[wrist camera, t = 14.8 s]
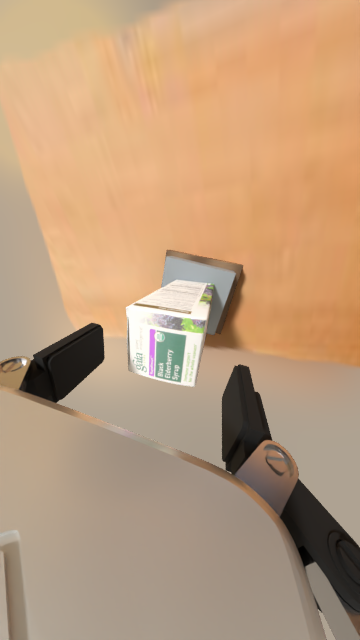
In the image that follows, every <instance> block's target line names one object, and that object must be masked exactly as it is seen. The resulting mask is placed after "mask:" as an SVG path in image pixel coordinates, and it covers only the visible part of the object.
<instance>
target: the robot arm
mask: <svg viewBox="0 0 360 640" xmlns="http://www.w3.org/2000/svg"><path fill="white" fill-rule="evenodd" d="M33 357H34V359H33V360H30V358H28V357H25V356H18V357H12V358H8V359H5V360H3V361H1V362H0V640H327V639H326V636H325V632H324V629H323V626H322V622H321V619H320V616H319V612H318V609H319V610H320V611H321V612H322V613H323V615H324V617H325V619H326V621H327V623H328V624H329V627H330V629H331V631H332V633H333V635H334V637H335V639H336V640H360V547H359V546H358V545H357V544H356V542H355V541H354V540H353V539H352V538H351V537H350V536H349V535H348V533H347V532H346V531H345V530H344V529H343V528H342V527H341V526H340V525H339V523H338V522H337V521H336V520H335V519H334V518H333V517H332V516H331V515H330V513H328V511H327V510H326V509H325V508H324V507H323V506H322V504H321V503H320V502H319V501H318V500H317V499H316V498H315V497H314V496H313V494H312V493H311V492H310V491H309V490H308V489H307V488H306V487H305V486H304V484H303V483H301V481H300V480H299V479H298V476H299V473H298V468H297V466H296V463H295V461H294V459H293V458H292V456H291V455H290V454H289V453H288V451H287V450H286V449H285V448H284V447H282V446H281V445H280V444H278V443H276V442H274V441H272V438H271V434H270V431H269V427H268V423H267V419H266V416H265V412H264V408H263V404H262V400H261V397H260V394H259V393H258V392H255V391H254V387H253V383H252V378H251V374H250V370H249V367H247V366H243V365H238V366H235V367H234V369H233V372H232V374H231V377H230V379H229V381H228V384H227V386H226V389H225V391H224V394H223V397H222V460H223V461H224V462H226V470H227V471H229V472H232V474H230V473H229V472H227V471H225V470H223V469H221V468H219V467H217V466H215V465H213V464H211V463H209V462H206V461H204V460H202V459H199V458H197V457H194V456H192V455H189V454H187V453H184V452H182V451H179V450H177V449H175V448H172V447H169V446H167V445H164V444H162V443H159V442H156V441H154V440H151V439H149V438H146V437H144V436H141V435H139V434H136V433H133V432H131V431H128V430H125V429H123V428H120V427H118V426H115V425H112V424H110V423H107V422H104V421H102V420H99V419H97V418H94V417H91V416H88V415H86V414H83V413H81V412H78V411H76V410H73V409H70V408H67V407H65V406H62V405H59V404H57V402H58V401H59V400H61V399H63V398H64V397H65V396H66V395H68V393H70V392H71V391H72V390H73V389H74V388H75V387H76V386H77V385H78V384H79V383H80V382H82V381H83V380H84V378H86V377H87V376H88V375H89V374H90V373H91V372H92V371H93V370H94V369H96V368H97V367H98V366H99V365H100V364H101V363H102V362H103V360H104V339H103V328H102V327H101V325H99V324H95V323H90V324H89V325H87V326H85V327H83V328H81V329H80V330H78V331H76V332H74V333H72V334H70V335H69V336H67V337H65V338H63V339H61V340H60V341H58V342H56V343H54V344H52V345H50V346H49V347H47V348H45V349H43V350H41V351H40V352H38V353H36V354H34V355H33Z"/></svg>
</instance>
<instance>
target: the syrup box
mask: <svg viewBox="0 0 360 640" xmlns="http://www.w3.org/2000/svg"><path fill="white" fill-rule="evenodd" d="M213 290H214V284H211V283H202V282H193V281H185V280H175V281H173V282H171V283H169V284H168V285H166V286H164V287H162V288H160V289H159V290H157V291H155V292H153V293H151V294H150V295H148V296H146V297H144V298H142V299H140V300H139V301H137V302H135V303H133V304H131V305H129V306H128V307H126V314H127V351H128V369H129V371H131V372H133V373H137V374H140V375H142V376H145V377H149V378H153V379H156V380H160V381H164V382H168V383H173V384H178V385H186V386H192V387H194V386H195V385H196V380H197V375H198V370H199V365H200V361H201V356H202V352H203V347H204V343H205V338H206V334H207V329H208V324H209V318H210V311H211V303H212V297H213Z"/></svg>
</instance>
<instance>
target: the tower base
mask: <svg viewBox="0 0 360 640" xmlns="http://www.w3.org/2000/svg"><path fill="white" fill-rule="evenodd" d="M167 256H174V257H178V258H182V259H186V260H190V261H194V262H198V263H202V264H207V265H211V266H215V267H219V268H223V269H227V270H231V271H234V272H235V273H236V275H235V277H234V280H233V283H232V286H231V289H230V292H229V294H228V297H227V300H226V303H225V306H224V308H223V311H222V314H221V317H220V320H219V323H218V325H217V328H216V331H215V333H218V334H221V331H222V328H223V325H224V322H225V319H226V316H227V313H228V310H229V307H230V304H231V301H232V298H233V295H234V292H235V289H236V286H237V283H238V280H239V277H240V274H241V271H242V268H243V265H241V264H237V263H232V262H227V261H222V260H217V259H212V258H207V257H202V256H197V255H192V254H187V253H182V252H177V251H173V250H167V252H166V257H167ZM165 261H166V260H165Z"/></svg>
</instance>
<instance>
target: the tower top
mask: <svg viewBox="0 0 360 640" xmlns="http://www.w3.org/2000/svg"><path fill="white" fill-rule="evenodd" d="M235 275H236V273H235V272H234V271H231V270H227V269H223V268H219V267H215V266H211V265H207V264H202V263H198V262H194V261H190V260H186V259H182V258H178V257H174V256H167V257H166V261H165V267H164V274H163V280H162V286H161V288H162V287H164V286H166V285H168V284H169V283H171V282H173V281H175V280H185V281H193V282H202V283H211V284H214V290H213V297H212V303H211V311H210V318H209V324H208V329H207V334H211V335H214V334H215V331H216V328H217V325H218V323H219V320H220V317H221V314H222V311H223V308H224V306H225V303H226V300H227V297H228V294H229V292H230V289H231V286H232V283H233V280H234V277H235Z"/></svg>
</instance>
